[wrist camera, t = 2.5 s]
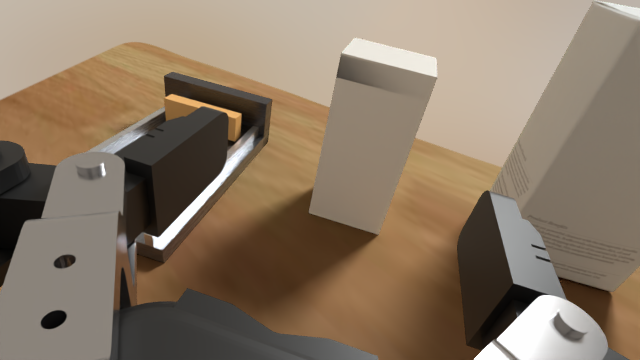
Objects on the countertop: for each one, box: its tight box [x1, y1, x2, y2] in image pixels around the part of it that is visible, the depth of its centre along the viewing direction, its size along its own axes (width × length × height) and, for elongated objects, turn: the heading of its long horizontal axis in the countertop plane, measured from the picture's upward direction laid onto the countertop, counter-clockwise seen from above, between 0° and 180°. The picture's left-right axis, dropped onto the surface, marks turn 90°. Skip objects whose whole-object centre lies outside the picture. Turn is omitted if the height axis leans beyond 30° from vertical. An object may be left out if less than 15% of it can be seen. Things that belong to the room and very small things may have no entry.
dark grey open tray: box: [85, 72, 272, 263], centre depth 25 cm, size 9×15×4 cm, turn 165°
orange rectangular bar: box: [164, 94, 242, 141], centre depth 28 cm, size 6×1×2 cm, turn 75°
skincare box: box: [490, 0, 640, 292], centre depth 22 cm, size 8×7×16 cm
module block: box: [309, 38, 437, 235], centre depth 23 cm, size 5×4×11 cm
